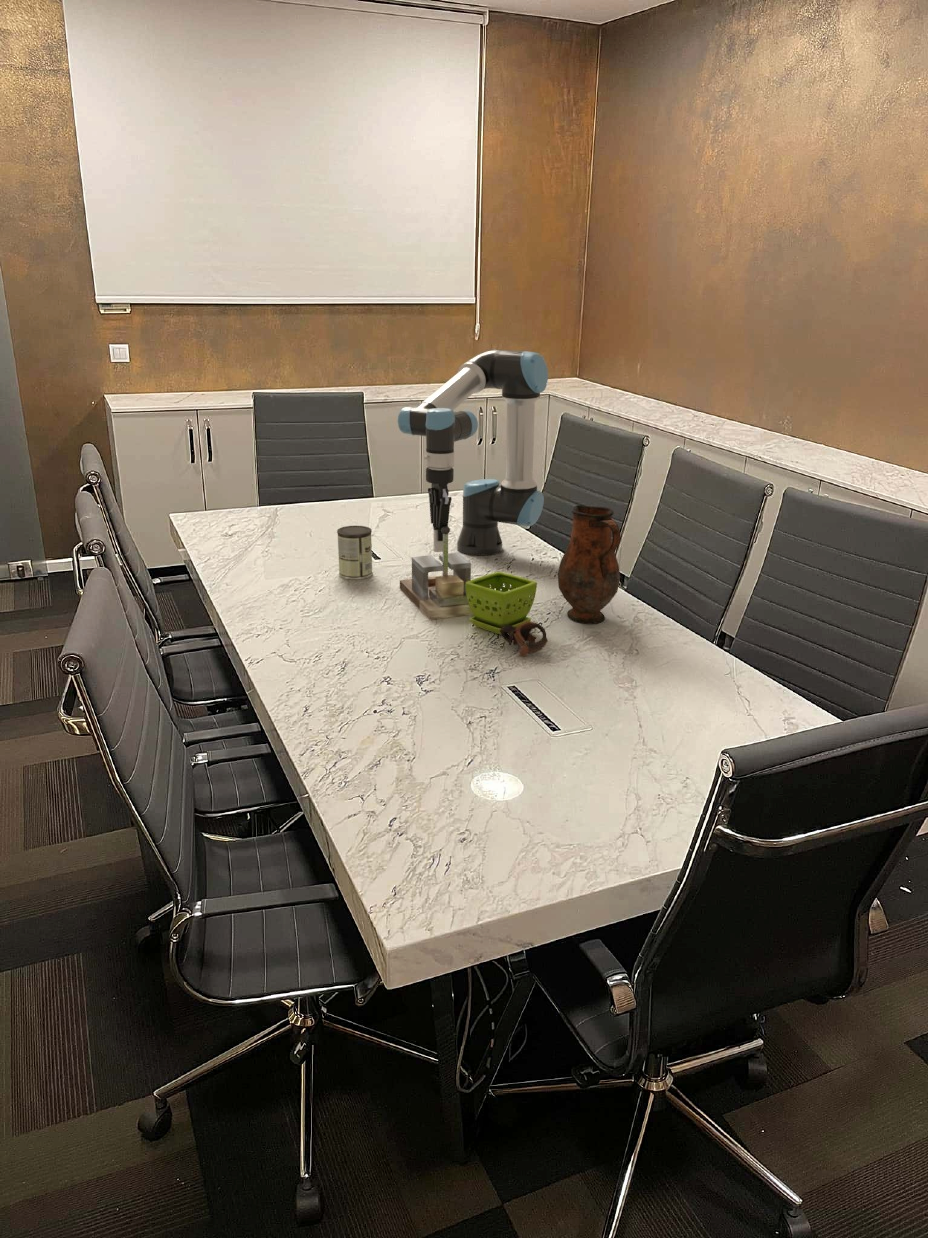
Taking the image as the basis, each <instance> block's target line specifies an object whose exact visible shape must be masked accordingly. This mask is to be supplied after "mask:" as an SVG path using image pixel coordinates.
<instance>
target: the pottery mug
mask: <svg viewBox="0 0 928 1238" xmlns="http://www.w3.org/2000/svg"><path fill="white" fill-rule="evenodd" d="M535 629H538V630H539V631H540V632H541V635H542V638H541V639H540V640H538V641H536V640H537V636H535V635H533V634H532V633H531V631H532V630H535ZM500 633H501V637H502V638H503V639H504V640H505V641H506V642H507V643H508V646H510V647H511V646H512V644H513V645H514V646H515V645H516V644H518V645H519V646H520V647H521V648H520V650H519V653H518V654H519V655H520V656H522V657H523V658H524V657H527V656H528V655H531V654H534V653H537V652H539V651H542V650H543V648H545V646H546V644H547V642H548V638H547V632H546V629H545V627H543V626H542V625H541V624H540V623H537V622H533V621H530V622H524V623H522V624H520V625H519V626H518V627H513V626H511V625H504V626H502V628H501V629H500ZM525 642H527V643H528V644H527V643H525Z"/></svg>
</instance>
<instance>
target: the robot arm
mask: <svg viewBox="0 0 928 1238" xmlns="http://www.w3.org/2000/svg"><path fill="white" fill-rule="evenodd" d="M548 381H549V371H548V366H547V362H546V360H545V359H544V357H543V356H542V355H541V354H540V353H538V352H533V351H529V350H508V349H507V350H505V349H491V350H487V351H484V352H481V353H479V354H477V355H475V356H473V357H471V358H470V359H468V360H467V361H466V362H464V363H463V364H462V365H461V366H459V368H458V370H457V373H456V374H455V375H454V376H452V377H451V378H450V379H448V380H447V381H446V382H445V383H444V384H443V385H441V386H440V387H439V388H438V389H436V390H434V392H433V393H432V394H430V395H429V396H428V397H427V398H426V399H424V400H423V401H422V402H420V404H418V405H417V406H416V407H414V406H405V407H403V408H401V410H400V411H399V413H398V415H397V426H398V429H399V431H400V432H401V433H403V434H407V435H411V436H420V437H425V439H426V440H425V442H426V443H425V447H426V448H425V453H426V454H425V455H423V457H424V460H425V465H426V468H425V481H426V482H427V483H429V484H431V485H430V486H431V487H430V488H429V487H428V488H427V492H428V499H429V500H428V501H429V514H430V524H432V529H433V552H434V553H441V552H442V553H443V533H442V532H441V528H442V527H443V526H448V527H449V519H450V518H449V517H450V510H451V503H452V497H451V496H449V494H450V493H449V492H450V491H449V489H448V484H452V483H453V482H454V468H453V467H454V466H455V449H454V448H455V442H459V441H462V440H466V439H469V438H471V437H473V436H474V435H475V434H476V432H477V430H478V429H479V428H478V426H479V424H478V423H479V422H478V419H477V417H476V415H475V414H474V412H472V411H471V410H470V411H469V410H459V411H454V410H456V409H457V408H458V407H459V406H461V404H463V403H464V402H465V401H466V400H467V399H469V398H470V397H471V396H472V395H473V394H478V393H480V392H483V390H485V389H486V390H487V389H496V390H501V397H502V399H503V400H505V402H506V428H505V429H506V431H505V432H506V435H505V436H506V437H505V438H506V440H505V445H506V446H505V478H504V479H503V480H502V481H501V483H500V481H499V480H498V479H494V478H485V479H484V478H483V479H475V480H471V481H468V482H466V483H465V484H464V485H463V491H462V527H461V530H460V533H459V536H458V539H457V542H456V544H457V545H456V549H457V550H458V552H459V553H461V554H462V553H463V554H466V555H470V556H472V555H473V556H492V555H495V554H498V553H501V552H502V551H503V541H502V537H501V534H500V530H499V523H503V524H509V525H515V526H518V527H531V526H533V525H535V524H536V523H537V522H538V520H539V519H540V516H541V514H542V511H543V508H544V502H545V497H544V494H543V492H542V491H540V490H538V482H537V481H536V480H534V478H533V477H534V476H533V475H534V473H533V471H534V439H535V435H534V434H535V406H536V405H535V404H536V402H537V401H538V400H539V398H540V397H541V393H544V391H545V390H546V388H547V383H548Z"/></svg>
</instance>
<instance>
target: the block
mask: <svg viewBox="0 0 928 1238" xmlns="http://www.w3.org/2000/svg"><path fill="white" fill-rule="evenodd" d="M449 575H450V576H443V575H440V576H441V577H436V593H437V594H438V595H440V596H441V597H442V598H448V597H457V596H463V592H464V581H462V580H461V579H460V578H459V577H458V576H457V575H453V574H449Z"/></svg>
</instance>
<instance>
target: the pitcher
mask: <svg viewBox="0 0 928 1238" xmlns="http://www.w3.org/2000/svg"><path fill="white" fill-rule="evenodd" d="M571 513H572V518H573V519H572V520H573V521H572V530H571V535H570V540H569V542H568V545H567V547H566V549H565V551H564V553H563V555H562V557H561V560H560V562H559V566H558V570H557V585H558V589H559V591H560V593H561V594H562V596H563V598H564V599H565V600H566V602H567V603H568V604H569V606H571V608H570V609H569V610H568V611H567V614H566V616H567V618H569V619H570V620H571V621H572V622H575V623H580V624H582V625H583V624H584V625H595V624H596V625H597V624H600V623H603V622H604V621H605V619H606V616H605V614H604V612H602V610H603V609H604V608H605V607H606V606H607V605H608V604H609V603H611V602H612V600H613V598H614V597H615V596H616V595H617V593H618V590H619V586H620V582H621V574H620V565H619V563H618V559H617V555H616V553H615V551H616V549H618V547H619V546H620V544H621V531H620V528H619V526H618V524H617V523H616V522H617V521H615V520H614V519H613V517H614V516H613V515H614V514H615V513H614V510H613V509H612V508H609V507H606V506H593V505H592V506H590V505H583V504H577V505H574V507H573V509H572V510H571Z"/></svg>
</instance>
